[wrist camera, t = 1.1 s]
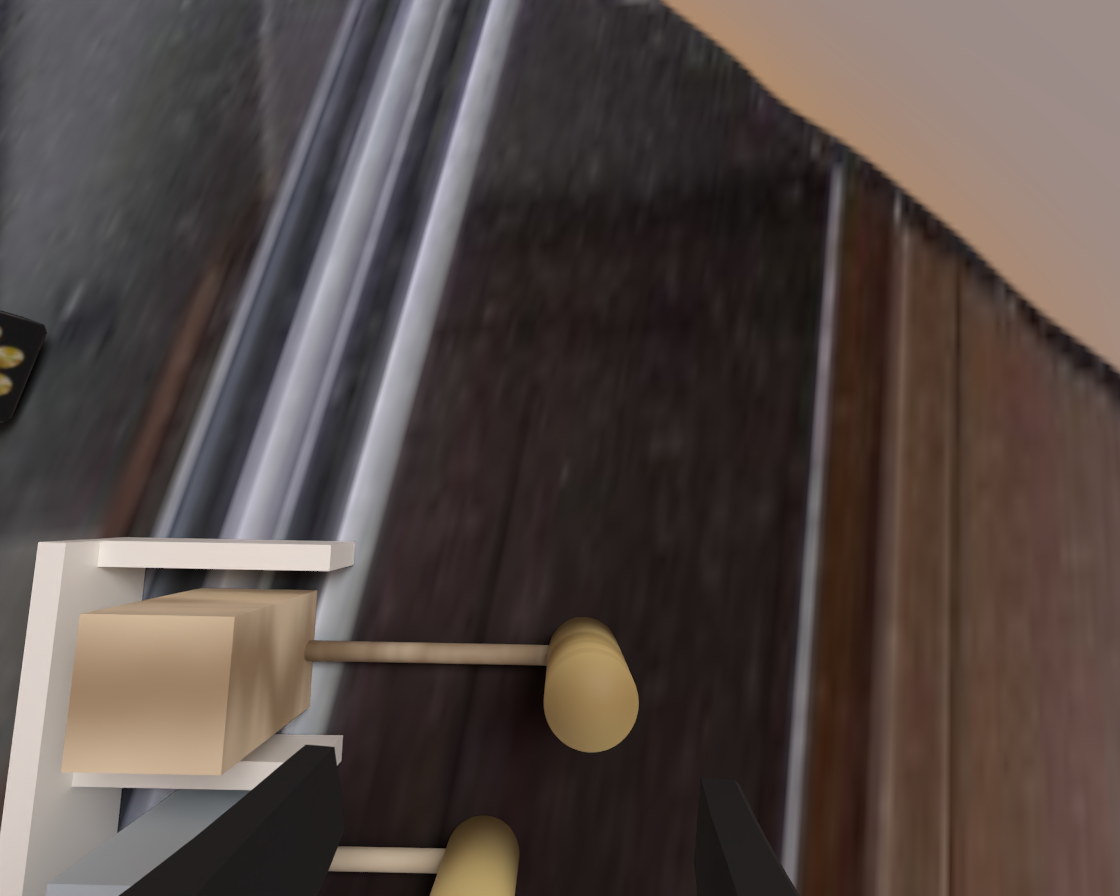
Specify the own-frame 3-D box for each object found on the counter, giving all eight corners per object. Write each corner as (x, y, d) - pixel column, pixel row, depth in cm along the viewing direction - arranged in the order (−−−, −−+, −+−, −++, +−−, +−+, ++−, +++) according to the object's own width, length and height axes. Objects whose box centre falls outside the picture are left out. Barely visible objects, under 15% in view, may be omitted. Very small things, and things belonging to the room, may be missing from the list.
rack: (328, 973, 22) (276, 1077, 18) (77, 968, 22) (-31, 1071, 18) (355, 541, 24) (313, 547, 20) (125, 537, 24) (38, 542, 20)
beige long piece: (618, 712, 23) (638, 784, 17) (191, 704, 23) (61, 772, 17) (618, 595, 23) (638, 624, 17) (201, 587, 23) (79, 613, 17)
